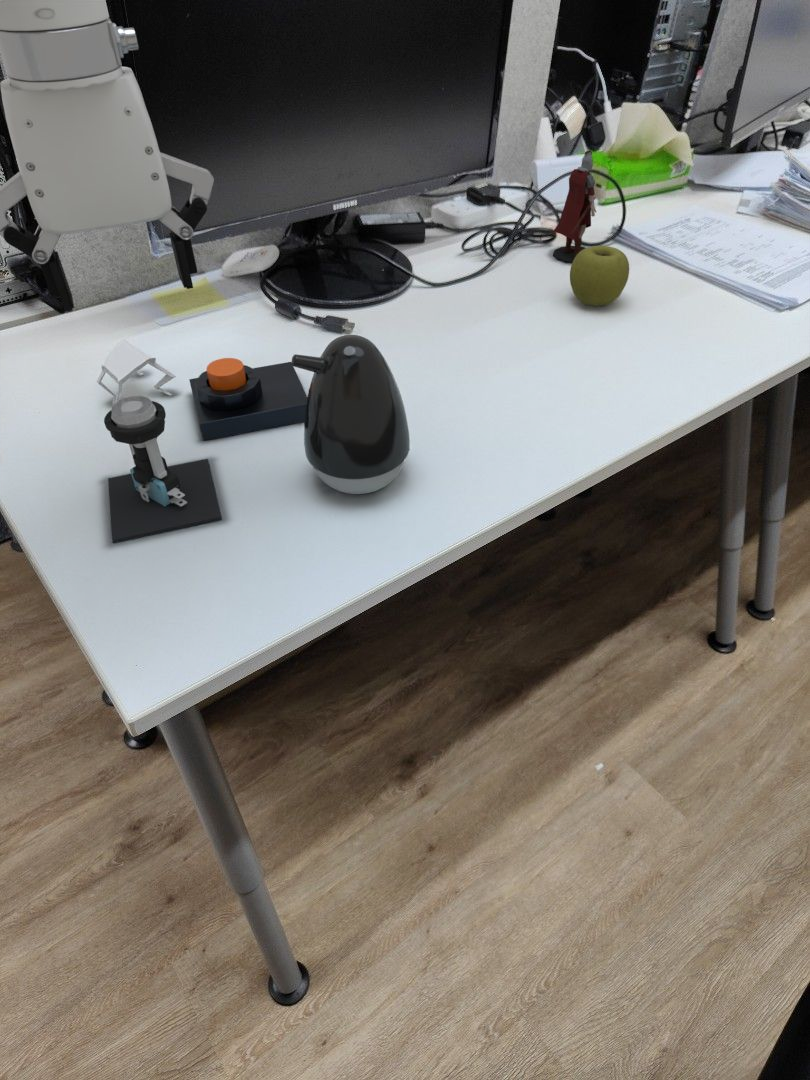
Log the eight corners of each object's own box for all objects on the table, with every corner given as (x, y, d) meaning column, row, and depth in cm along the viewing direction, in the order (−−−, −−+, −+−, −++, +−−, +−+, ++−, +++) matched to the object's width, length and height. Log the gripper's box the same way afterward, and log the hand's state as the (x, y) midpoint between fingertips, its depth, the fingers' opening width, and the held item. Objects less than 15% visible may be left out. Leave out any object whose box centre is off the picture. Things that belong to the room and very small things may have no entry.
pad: (113, 543, 70) (111, 540, 70) (109, 481, 77) (107, 478, 77) (222, 519, 72) (221, 516, 72) (208, 461, 79) (207, 458, 79)
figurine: (605, 258, 118) (621, 152, 108) (567, 268, 115) (580, 161, 105) (577, 244, 122) (590, 142, 112) (540, 253, 120) (551, 149, 110)
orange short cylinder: (212, 395, 82) (208, 378, 81) (207, 377, 85) (204, 361, 84) (249, 388, 83) (246, 371, 82) (243, 371, 86) (240, 355, 85)
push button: (206, 495, 74) (184, 407, 68) (162, 524, 71) (135, 434, 65) (162, 471, 77) (137, 384, 71) (118, 497, 74) (88, 409, 68)
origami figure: (187, 406, 88) (178, 367, 84) (114, 426, 85) (101, 387, 81) (160, 362, 96) (151, 325, 92) (92, 379, 93) (80, 341, 89)
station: (203, 441, 82) (196, 409, 80) (193, 395, 89) (185, 364, 87) (312, 420, 85) (308, 388, 82) (293, 377, 92) (289, 347, 89)
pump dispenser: (297, 459, 79) (279, 322, 69) (393, 441, 81) (388, 305, 71) (319, 519, 72) (301, 375, 62) (423, 497, 74) (423, 355, 64)
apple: (601, 319, 102) (609, 267, 97) (554, 301, 106) (560, 250, 102) (634, 302, 106) (644, 251, 101) (588, 285, 110) (595, 235, 105)
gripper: (178, 33, 57) (222, 259, 69) (-73, 58, 53) (18, 294, 64) (196, 51, 52) (240, 291, 63) (-81, 79, 47) (20, 333, 59)
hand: (128, 293), depth 64 cm, fingers open, 9 cm apart
